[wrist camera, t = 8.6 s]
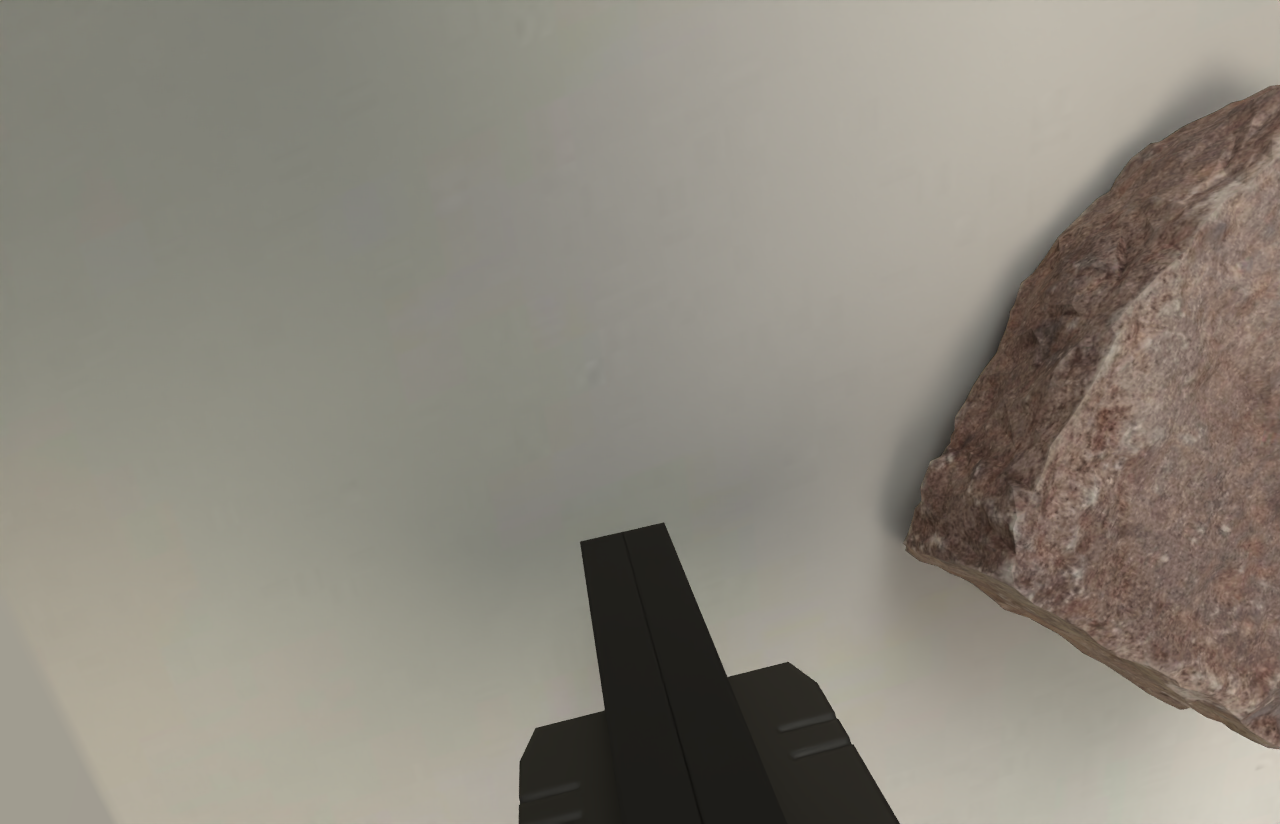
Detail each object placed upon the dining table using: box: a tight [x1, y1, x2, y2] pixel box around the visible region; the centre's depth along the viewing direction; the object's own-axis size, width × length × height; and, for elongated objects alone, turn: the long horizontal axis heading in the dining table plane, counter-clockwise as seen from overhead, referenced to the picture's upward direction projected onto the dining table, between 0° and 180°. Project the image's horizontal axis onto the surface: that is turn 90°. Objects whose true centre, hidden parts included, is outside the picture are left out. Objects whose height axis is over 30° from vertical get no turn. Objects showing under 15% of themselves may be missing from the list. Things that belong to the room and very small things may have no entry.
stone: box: [903, 85, 1280, 749], centre depth 14 cm, size 12×9×5 cm
